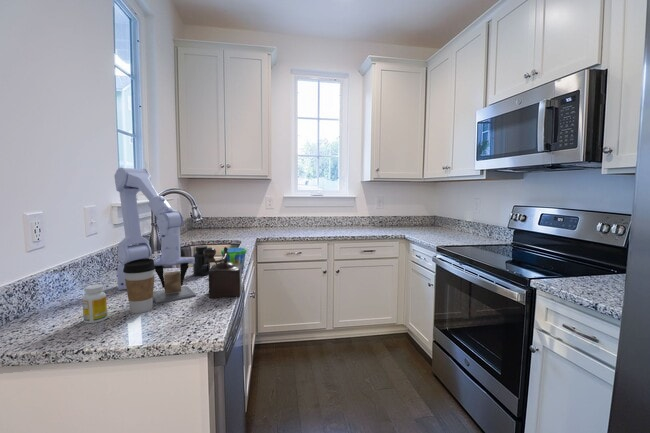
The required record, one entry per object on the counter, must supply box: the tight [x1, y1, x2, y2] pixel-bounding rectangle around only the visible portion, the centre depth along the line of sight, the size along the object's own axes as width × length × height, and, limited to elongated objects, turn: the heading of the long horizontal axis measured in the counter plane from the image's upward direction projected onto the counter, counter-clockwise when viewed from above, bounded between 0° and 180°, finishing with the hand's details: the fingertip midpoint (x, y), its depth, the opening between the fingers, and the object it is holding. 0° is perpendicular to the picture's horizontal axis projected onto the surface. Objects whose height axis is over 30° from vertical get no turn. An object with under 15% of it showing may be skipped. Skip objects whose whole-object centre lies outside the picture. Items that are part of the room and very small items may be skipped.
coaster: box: [153, 285, 197, 305], centre depth 110 cm, size 12×12×1 cm
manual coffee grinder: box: [203, 246, 243, 299], centre depth 109 cm, size 16×11×18 cm
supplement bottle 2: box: [192, 245, 211, 277], centre depth 136 cm, size 7×7×12 cm
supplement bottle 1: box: [82, 284, 108, 324], centre depth 89 cm, size 5×5×10 cm
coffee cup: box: [123, 257, 155, 314], centre depth 96 cm, size 8×8×15 cm
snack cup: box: [220, 247, 247, 273], centre depth 139 cm, size 16×11×10 cm
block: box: [163, 270, 182, 294], centre depth 109 cm, size 5×5×6 cm
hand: (172, 286), depth 109 cm, fingers closed on block, 5 cm apart
